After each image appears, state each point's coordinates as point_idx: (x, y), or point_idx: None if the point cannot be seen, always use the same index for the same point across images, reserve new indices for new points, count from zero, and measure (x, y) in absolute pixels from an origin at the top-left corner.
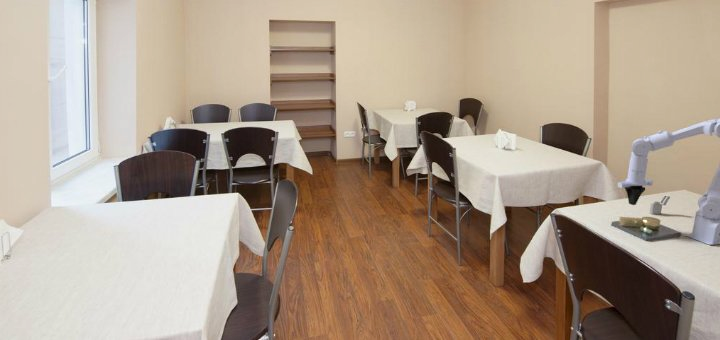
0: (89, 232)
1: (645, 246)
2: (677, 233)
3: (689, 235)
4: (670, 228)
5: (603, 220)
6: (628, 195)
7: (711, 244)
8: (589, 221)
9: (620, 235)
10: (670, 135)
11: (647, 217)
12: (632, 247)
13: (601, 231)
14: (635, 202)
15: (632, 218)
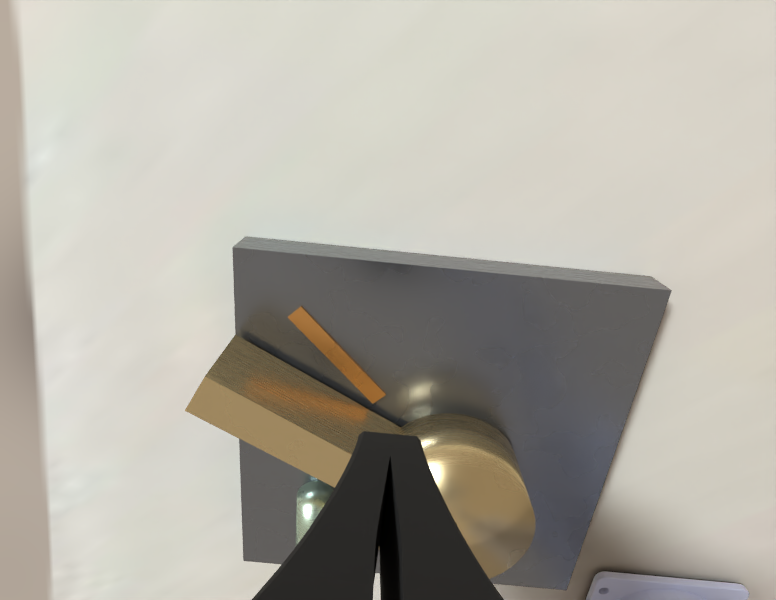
0: None
1: (177, 577)
2: (532, 582)
3: (601, 595)
4: (583, 527)
5: (279, 89)
6: (313, 550)
7: None
8: (95, 51)
9: (150, 420)
10: None
11: (477, 488)
12: (84, 562)
13: (48, 312)
14: (380, 549)
15: (296, 456)
